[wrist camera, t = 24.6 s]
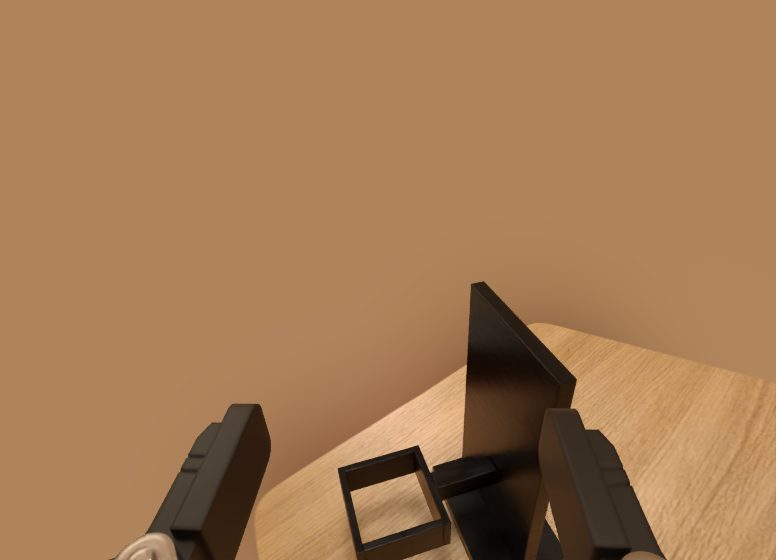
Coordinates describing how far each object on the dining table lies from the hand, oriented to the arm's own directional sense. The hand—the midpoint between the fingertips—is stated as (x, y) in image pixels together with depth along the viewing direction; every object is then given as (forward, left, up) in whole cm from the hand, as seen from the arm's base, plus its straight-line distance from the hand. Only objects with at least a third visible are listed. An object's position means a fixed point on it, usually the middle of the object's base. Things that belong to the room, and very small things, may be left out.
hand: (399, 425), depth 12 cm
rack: (+7, +13, -32) cm, 35 cm away
